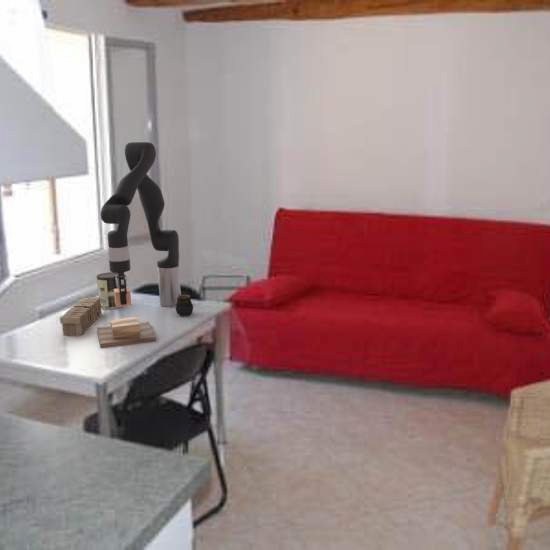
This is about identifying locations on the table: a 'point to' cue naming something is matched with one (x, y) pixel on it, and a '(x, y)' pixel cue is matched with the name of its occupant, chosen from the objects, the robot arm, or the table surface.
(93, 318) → the brown long block
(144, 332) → the walnut base
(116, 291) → the terracotta cube
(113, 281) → the coffee can
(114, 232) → the robot arm
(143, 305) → the table surface
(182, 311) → the mate gourd
